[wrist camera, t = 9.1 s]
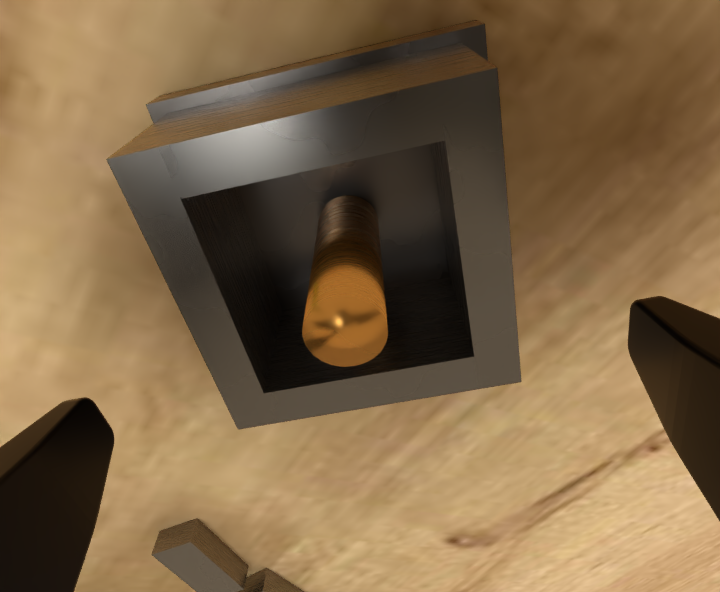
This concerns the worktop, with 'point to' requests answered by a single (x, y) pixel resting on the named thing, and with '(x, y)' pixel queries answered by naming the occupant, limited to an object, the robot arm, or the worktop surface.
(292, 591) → the wood sided gray block
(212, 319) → the hollow square frame
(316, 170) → the keeper
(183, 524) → the grey topped wooden tile
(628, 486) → the worktop surface
